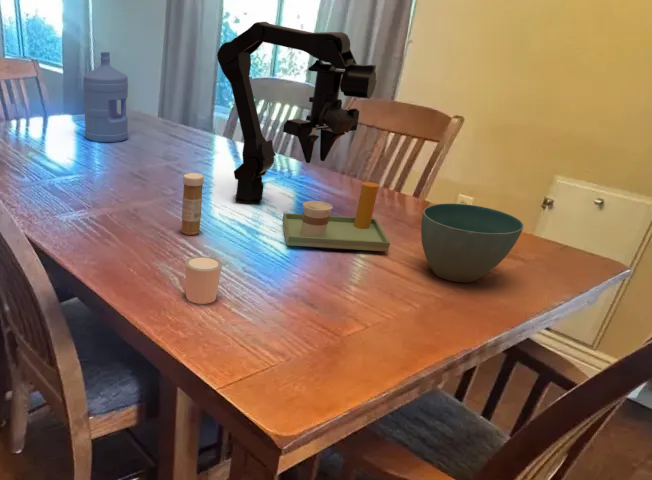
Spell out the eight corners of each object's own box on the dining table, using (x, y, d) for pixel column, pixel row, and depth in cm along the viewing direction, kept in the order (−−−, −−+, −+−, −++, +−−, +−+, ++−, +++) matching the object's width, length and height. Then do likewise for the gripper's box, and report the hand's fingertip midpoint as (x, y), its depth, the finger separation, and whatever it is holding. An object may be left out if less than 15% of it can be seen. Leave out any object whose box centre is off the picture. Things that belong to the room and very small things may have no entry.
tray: (287, 245, 136) (294, 197, 130) (282, 220, 150) (288, 176, 144) (388, 251, 134) (400, 203, 129) (374, 226, 148) (384, 181, 142)
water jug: (80, 141, 218) (76, 54, 203) (91, 132, 231) (88, 49, 216) (123, 144, 216) (122, 56, 201) (131, 134, 229) (131, 51, 214)
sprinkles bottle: (194, 227, 147) (197, 171, 140) (203, 234, 144) (207, 176, 136) (177, 230, 145) (179, 173, 138) (186, 236, 142) (189, 178, 135)
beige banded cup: (299, 239, 137) (304, 209, 133) (297, 229, 143) (301, 200, 139) (328, 241, 137) (334, 210, 133) (325, 231, 142) (330, 201, 138)
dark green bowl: (389, 263, 131) (403, 208, 125) (453, 252, 137) (469, 198, 131) (455, 299, 117) (475, 238, 111) (522, 285, 123) (545, 226, 117)
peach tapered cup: (180, 289, 118) (182, 255, 115) (215, 288, 119) (218, 255, 115) (185, 305, 113) (187, 270, 109) (222, 305, 113) (225, 270, 109)
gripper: (319, 102, 133) (307, 174, 141) (381, 96, 140) (366, 165, 149) (286, 94, 141) (277, 163, 149) (346, 89, 149) (334, 155, 157)
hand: (315, 161), depth 151 cm, fingers open, 4 cm apart
